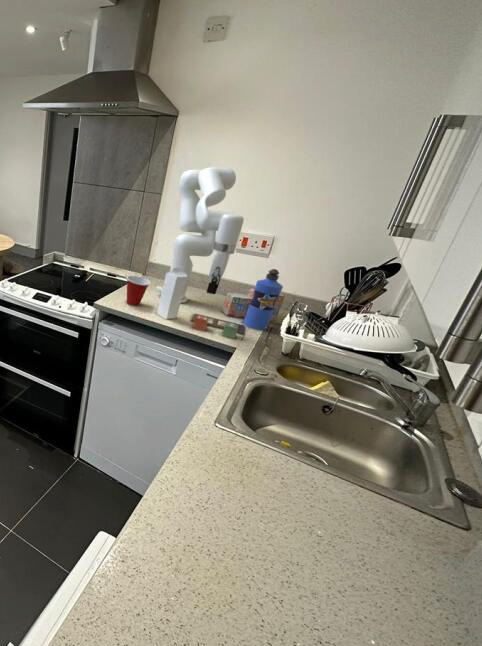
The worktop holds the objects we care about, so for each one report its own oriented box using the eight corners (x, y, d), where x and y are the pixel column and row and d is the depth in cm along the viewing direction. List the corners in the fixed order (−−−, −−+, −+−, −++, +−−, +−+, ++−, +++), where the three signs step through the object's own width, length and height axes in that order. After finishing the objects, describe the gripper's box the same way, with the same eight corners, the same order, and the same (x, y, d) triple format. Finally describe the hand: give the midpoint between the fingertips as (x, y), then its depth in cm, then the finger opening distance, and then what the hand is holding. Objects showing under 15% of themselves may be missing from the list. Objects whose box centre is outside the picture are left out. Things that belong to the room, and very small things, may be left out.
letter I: (221, 335, 156) (225, 325, 154) (222, 331, 159) (226, 321, 157) (234, 338, 154) (237, 328, 152) (235, 335, 157) (238, 324, 155)
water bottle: (269, 331, 163) (291, 274, 153) (245, 327, 165) (265, 270, 155) (263, 323, 172) (284, 268, 162) (240, 319, 174) (259, 265, 164)
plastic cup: (139, 309, 175) (145, 284, 170) (117, 302, 181) (122, 278, 176) (149, 304, 183) (154, 280, 178) (128, 297, 189) (132, 274, 184)
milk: (176, 318, 170) (190, 269, 161) (166, 319, 167) (179, 269, 158) (166, 312, 175) (179, 264, 166) (156, 313, 172) (168, 265, 163)
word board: (190, 321, 167) (191, 319, 167) (194, 314, 175) (194, 313, 175) (243, 334, 158) (243, 333, 158) (244, 326, 166) (244, 325, 166)
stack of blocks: (226, 316, 176) (235, 290, 172) (221, 310, 182) (229, 285, 177) (275, 321, 175) (285, 295, 170) (268, 316, 181) (278, 291, 176)
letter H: (192, 328, 161) (195, 317, 159) (194, 324, 164) (197, 314, 162) (204, 331, 159) (207, 320, 157) (205, 327, 162) (208, 317, 160)
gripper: (215, 243, 158) (204, 283, 164) (211, 249, 144) (199, 293, 150) (236, 246, 154) (224, 287, 161) (233, 253, 140) (220, 298, 147)
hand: (212, 290), depth 155 cm, fingers open, 9 cm apart
